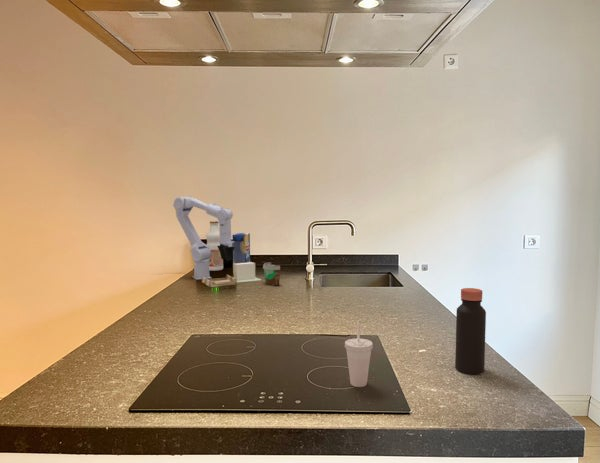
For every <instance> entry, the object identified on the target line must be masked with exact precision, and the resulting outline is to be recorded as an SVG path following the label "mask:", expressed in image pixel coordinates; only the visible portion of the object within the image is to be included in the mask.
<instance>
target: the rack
mask: <svg viewBox="0 0 600 463" xmlns="http://www.w3.org/2000/svg"><path fill="white" fill-rule="evenodd" d="M226 280H229V281H232V282H230V283H220V284H213V282H217V281H226ZM201 283H203V284H204V285H206V286H208V287H209V288H214V287H215V288H216V287H223V286H225V287H226V286H234V285H237V284H238V283H237V279H236V278H234V276H231V275H229V274H226V276H225V277H219V278H208V279H206V278H204V277H202V279H201Z"/></svg>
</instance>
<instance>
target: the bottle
mask: <svg viewBox="0 0 600 463" xmlns="http://www.w3.org/2000/svg"><path fill="white" fill-rule="evenodd" d="M460 301H461V304H460V305H459V306H458V307H456V318H455V319H456V321H455V325H456V326H455V355H454V356H455V359H454V361H455V364H454V365H455V366H454V367H455V369H456V370H457V371H459V372H460V373H463V374H467V375H480V374H483V373H484V372H485V361H486V360H485V358H486V357H485V356H486V327H487V320H486V319H487V312H486V309H485V308H484V307H483V306H482V305H481V303H482V302H483V290H482V289H480V288H473V287H465V288H464V287H463V288H461V289H460Z"/></svg>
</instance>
